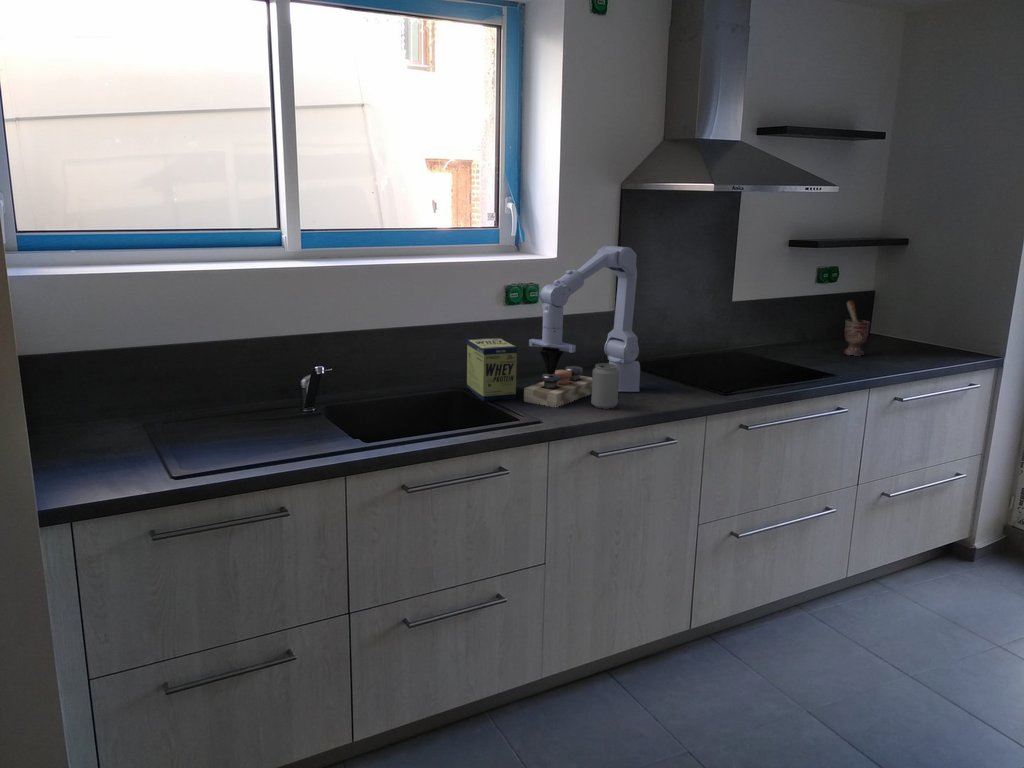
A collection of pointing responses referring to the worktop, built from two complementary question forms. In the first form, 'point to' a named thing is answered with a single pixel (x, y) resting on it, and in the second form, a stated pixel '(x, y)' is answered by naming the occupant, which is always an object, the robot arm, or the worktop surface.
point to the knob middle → (563, 377)
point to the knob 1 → (551, 381)
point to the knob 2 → (574, 373)
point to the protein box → (491, 368)
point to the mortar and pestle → (855, 332)
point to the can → (605, 386)
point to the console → (558, 393)
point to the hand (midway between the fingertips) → (551, 373)
